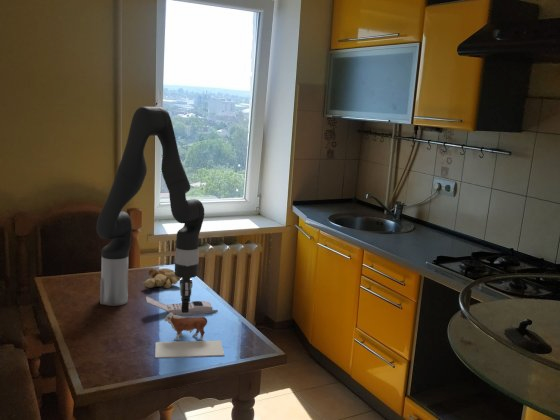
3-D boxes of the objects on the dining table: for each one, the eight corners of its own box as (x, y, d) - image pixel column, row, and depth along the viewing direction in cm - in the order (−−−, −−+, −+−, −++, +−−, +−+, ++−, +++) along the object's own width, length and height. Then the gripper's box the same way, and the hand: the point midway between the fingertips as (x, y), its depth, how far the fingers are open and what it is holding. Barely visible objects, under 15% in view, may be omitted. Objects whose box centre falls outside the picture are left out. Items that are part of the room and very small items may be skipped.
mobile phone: (144, 296, 187) (215, 292, 196) (144, 312, 189) (214, 307, 197) (146, 302, 182) (218, 298, 190) (146, 318, 183) (218, 313, 191)
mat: (155, 358, 155) (155, 357, 155) (155, 343, 164) (155, 342, 164) (224, 355, 159) (224, 354, 159) (220, 341, 169) (220, 340, 169)
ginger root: (180, 274, 227) (180, 258, 224) (183, 295, 214) (183, 278, 210) (142, 276, 223) (141, 259, 220) (142, 298, 209) (142, 280, 206)
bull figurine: (164, 334, 171) (164, 310, 169) (206, 336, 172) (207, 312, 170) (162, 340, 166) (163, 315, 165) (206, 341, 168) (207, 317, 166)
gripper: (174, 255, 178) (172, 304, 181) (175, 267, 166) (173, 320, 169) (197, 255, 180) (195, 304, 183) (200, 267, 167) (197, 319, 170)
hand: (185, 311), depth 176 cm, fingers closed
